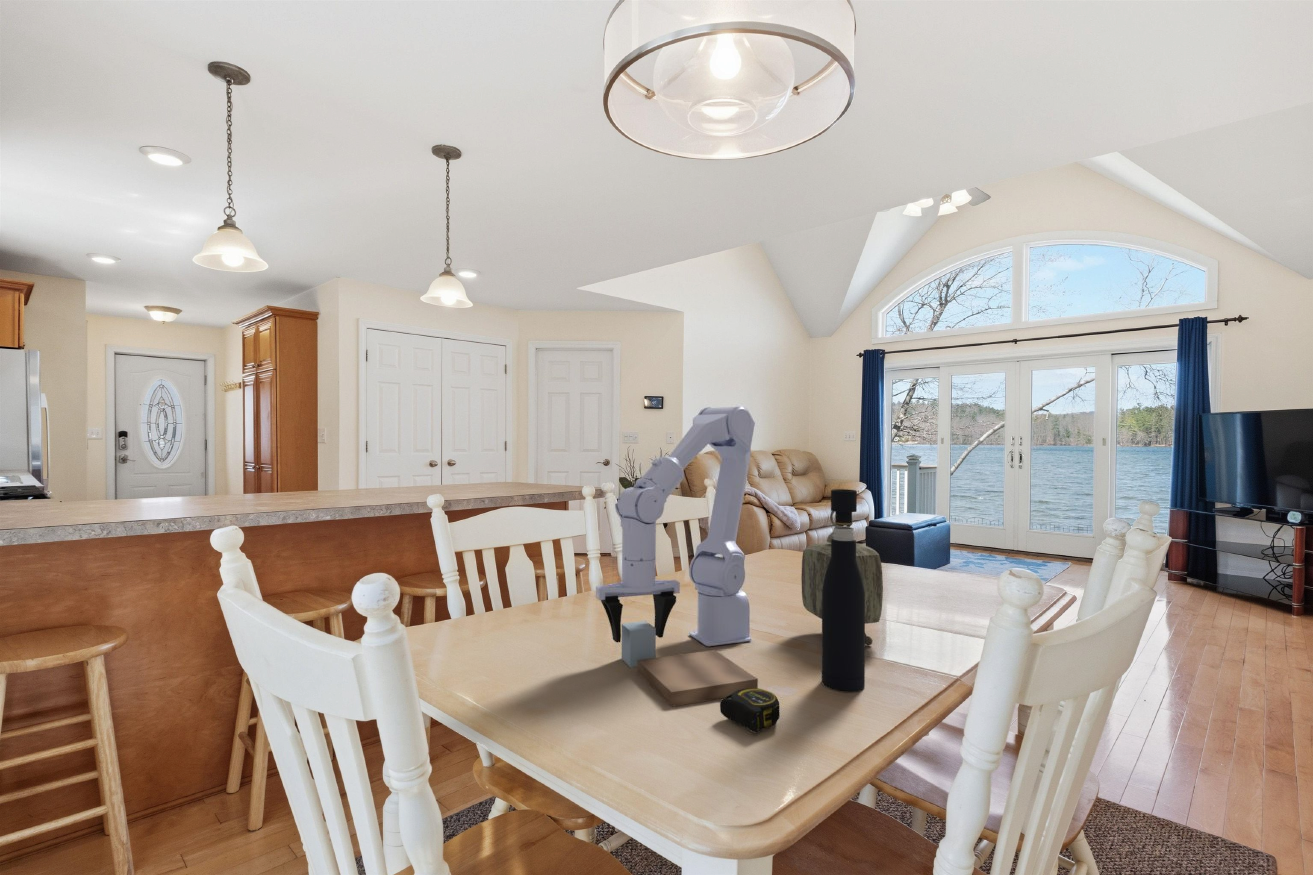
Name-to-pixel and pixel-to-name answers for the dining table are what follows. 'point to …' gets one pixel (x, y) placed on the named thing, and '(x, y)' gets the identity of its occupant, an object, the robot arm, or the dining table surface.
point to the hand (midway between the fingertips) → (638, 638)
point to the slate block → (638, 642)
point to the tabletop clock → (815, 570)
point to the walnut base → (694, 677)
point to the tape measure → (751, 708)
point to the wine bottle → (843, 603)
